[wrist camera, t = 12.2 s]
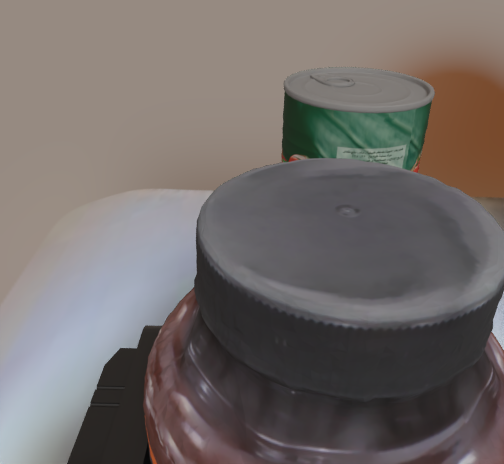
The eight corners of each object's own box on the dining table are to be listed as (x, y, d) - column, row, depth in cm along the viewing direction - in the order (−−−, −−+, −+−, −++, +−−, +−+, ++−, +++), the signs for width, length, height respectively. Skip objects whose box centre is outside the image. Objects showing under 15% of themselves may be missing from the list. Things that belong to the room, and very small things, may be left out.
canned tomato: (426, 264, 30) (468, 89, 24) (333, 309, 26) (357, 116, 21) (339, 213, 36) (357, 61, 30) (253, 244, 32) (254, 78, 26)
